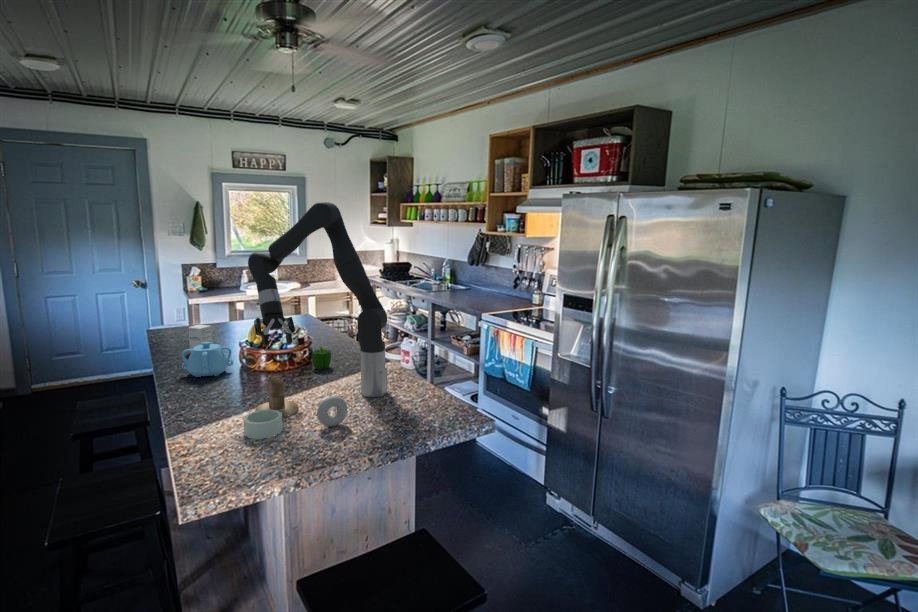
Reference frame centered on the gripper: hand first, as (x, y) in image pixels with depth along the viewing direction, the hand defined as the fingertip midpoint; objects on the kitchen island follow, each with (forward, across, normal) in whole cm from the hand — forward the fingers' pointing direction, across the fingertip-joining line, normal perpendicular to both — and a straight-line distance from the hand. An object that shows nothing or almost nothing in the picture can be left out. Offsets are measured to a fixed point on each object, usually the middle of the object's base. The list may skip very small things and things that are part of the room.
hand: (278, 345), depth 183 cm
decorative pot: (-4, -7, +51) cm, 51 cm away
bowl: (+31, -16, -10) cm, 36 cm away
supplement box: (-23, +4, +82) cm, 85 cm away
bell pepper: (+4, +32, +27) cm, 42 cm away
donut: (+35, +2, -20) cm, 40 cm away
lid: (+23, -5, +1) cm, 24 cm away
